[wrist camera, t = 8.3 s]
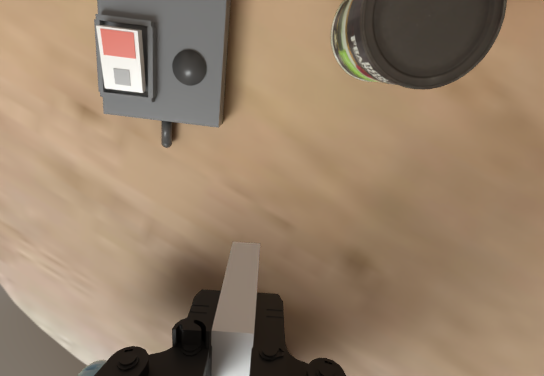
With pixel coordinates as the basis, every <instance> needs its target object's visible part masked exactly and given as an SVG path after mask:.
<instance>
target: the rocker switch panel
mask: <svg viewBox="0 0 544 376" xmlns="http://www.w3.org/2000/svg"><path fill="white" fill-rule="evenodd" d="M97 4H98V14H96V19H94V22H95V38H96V54H97V71H98V87H99V92H100V96H101V97H103V109H104V114H111V115H119V116H128V117H136V118H144V119H152V120H161V121H162V145H163V146H164V147H166V148H168V147H170V146H171V145H172V122H177V123H186V124H194V125H202V126H210V127H219V126H220V125H221V124H222V123H223V109H224V94H225V79H226V64H227V49H228V34H229V19H230V4H231V0H97ZM97 25H106V26H114V27H121V28H129V29H137V30H142V43H143V56H144V69H145V82H146V91H145V92H144V93H139V92H131V91H122V90H114V89H106V88H105V86H104V79H103V72H102V65H101V58H100V50H99V43H98V36H97V29H96V26H97Z"/></svg>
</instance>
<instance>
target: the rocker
mask: <svg viewBox="0 0 544 376" xmlns="http://www.w3.org/2000/svg"><path fill="white" fill-rule="evenodd" d="M96 29H97V36H98V43H99V50H100V58H101V65H102V72H103V79H104V86H105V88H106V89H114V90H122V91H131V92H139V93H144V92H145V91H146V82H145V69H144V56H143V43H142V30H137V29H129V28H121V27H114V26H106V25H97V26H96Z"/></svg>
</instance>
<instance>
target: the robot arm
mask: <svg viewBox="0 0 544 376" xmlns="http://www.w3.org/2000/svg"><path fill="white" fill-rule="evenodd" d="M259 256H260V243H247V242H234V241H233V243H232V247H231V251H230V255H229V259H228V264H227V268H226V272H225V276H224V280H223V285H222V289H221V291H215V290H201V291H200V292H199V293H198V294H197V295H196V296H195V297H194V300H193V303H192V306H191V309H190V313H189V315H188V317H187V318H185V319H182V320H180V321H179V322H178V323H176V324H175V326H174V327H173V329H172V341H173V347H172V348H170V349H168V350H166V351H163V352H160V353H155V354H150V355H148V353H147V352H146V350H145V349H143V348H141V347H135V346H131V347H126V348H123V349H121V350H119V351H117V352H116V353H115V354H113V355H112V356H111V357H110V358H109V359H108V360H107V361H106V360H99V361H96V362H93V363H91V364H90V365H88V366H87V367H86V368H84V369H83V370H82V371H81V372H80V373H79V374H78V376H346V375H345V373H344V371H343V369H342V368H341V367H340V365H339V364H337V363H336V362H334V361H333V360H330V359H327V358H317V359H314V360H312V361H311V362H310V363H309V364H308V363H305V362H302V361H300V360H297V359H295V358H294V357H293V356H291V355H290V353H289V352H288V351H287V348H286V345H285V334H284V313H283V301H282V300H281V298H280V296H279V295H278V294H268V293H257V284H258V270H259Z"/></svg>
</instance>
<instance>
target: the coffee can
mask: <svg viewBox="0 0 544 376" xmlns="http://www.w3.org/2000/svg"><path fill="white" fill-rule="evenodd" d="M506 3H507V0H344V1H343V2H342V3H341V5H340V7H339V8H338V10H337V12H336V15H335V17H334V20H333V24H332V29H331V45H332V50H333V53H334V56H335V58H336V60H337V62H338V63H339V65H340V66H341V67H342V69H343V70H344V71H345V72H346V73H348V74H349V75H351V76H352V77H354V78H356V79H359V80H363V81H368V82H382V83H388V84H395V85H400V86H403V87H406V88H412V89H432V88H437V87H441V86H444V85H447V84H449V83H452V82H454V81H456V80H458V79H459V78H461V77H463V76H464V75H466V74H467V73H468V72H470V71H471V70H472V69H473V68H474V67H475V66H476V65H477V64H478V63H479V62H480V61H481V60H482V59H483V58H484V57H485V55H486V54H487V53H488V51H489V50H490V48H491V47H492V45H493V43H494V42H495V40H496V38H497V36H498V34H499V31H500V29H501V26H502V23H503V20H504V16H505V10H506Z"/></svg>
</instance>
